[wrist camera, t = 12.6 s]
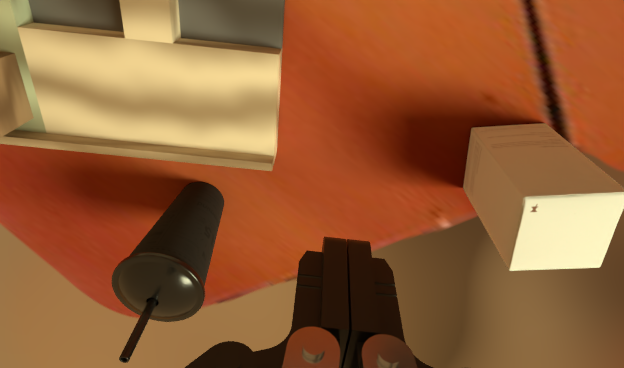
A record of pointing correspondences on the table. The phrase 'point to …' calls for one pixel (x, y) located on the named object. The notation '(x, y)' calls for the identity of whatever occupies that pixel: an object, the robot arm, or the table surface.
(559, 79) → the table surface
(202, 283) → the drinking cup
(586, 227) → the supplement box
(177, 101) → the board
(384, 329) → the robot arm
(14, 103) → the walnut block
